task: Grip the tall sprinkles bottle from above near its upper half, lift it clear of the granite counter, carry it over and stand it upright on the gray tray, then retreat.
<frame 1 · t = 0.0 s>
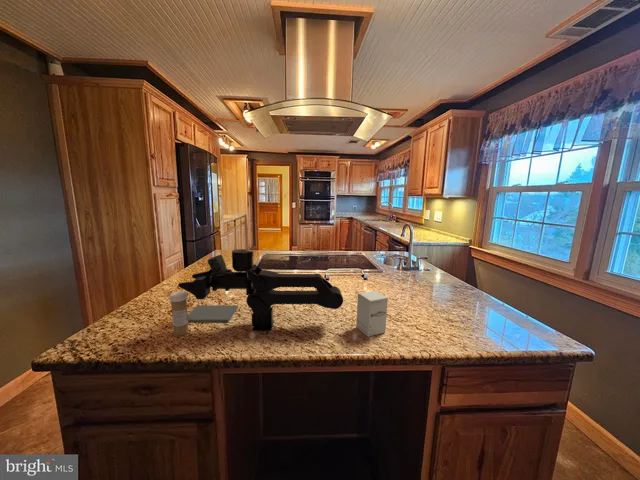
hand: (185, 280, 83), 17 cm above the counter, tool horizontal, fingers open, 9 cm apart
supplement box: (370, 330, 85), on the counter
gray tray: (212, 314, 94), on the counter
sprinkles bottle: (181, 333, 81), on the counter
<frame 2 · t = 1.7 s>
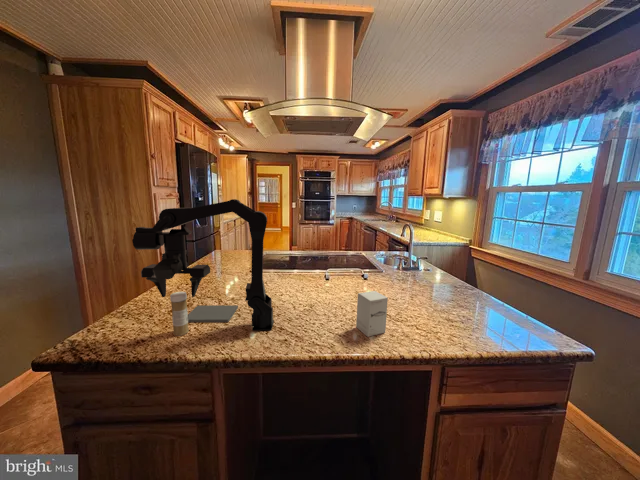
hand: (178, 296, 79), 12 cm above the counter, tool pointing down, fingers open, 9 cm apart
nothing on the counter moved.
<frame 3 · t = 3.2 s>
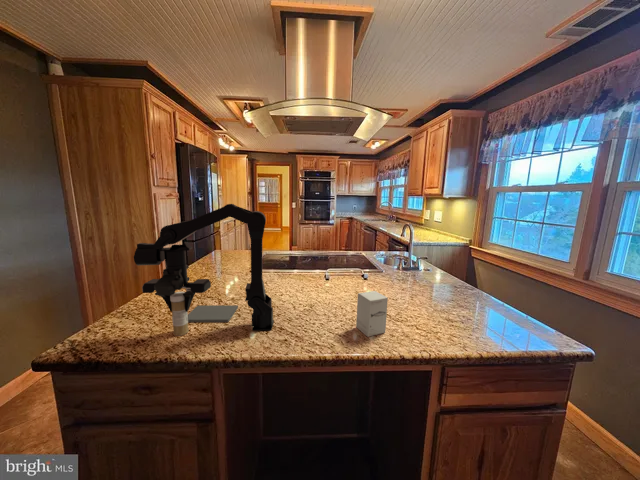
hand: (179, 311, 80), 8 cm above the counter, tool pointing down, fingers closed on sprinkles bottle, 4 cm apart
sprinkles bottle: (181, 333, 81), on the counter, touching gripper
everything else where it was.
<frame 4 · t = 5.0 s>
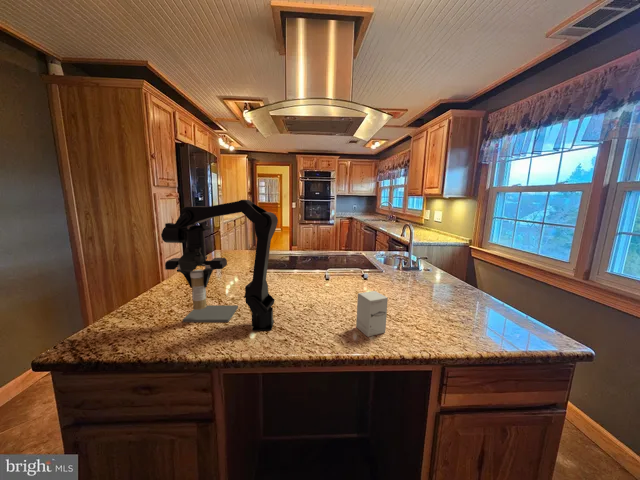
hand: (198, 287, 87), 13 cm above the counter, tool pointing down, fingers closed on sprinkles bottle, 4 cm apart
sprinkles bottle: (200, 308, 88), point 5 cm above the counter, touching gripper
everything else where it was.
when the fingers open (9 cm above the counter, at t = 6.8 s): sprinkles bottle stays where it is, resting on gray tray.
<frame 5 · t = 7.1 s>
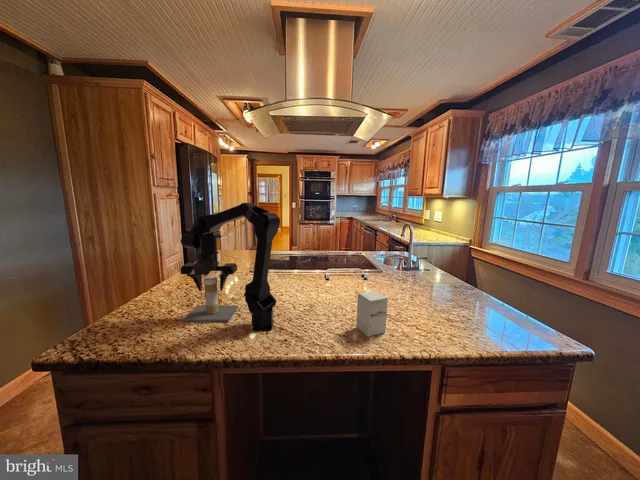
hand: (210, 290, 93), 9 cm above the counter, tool pointing down, fingers open, 7 cm apart
sprinkles bottle: (212, 312, 94), point 1 cm above the counter, touching gray tray
everything else where it was.
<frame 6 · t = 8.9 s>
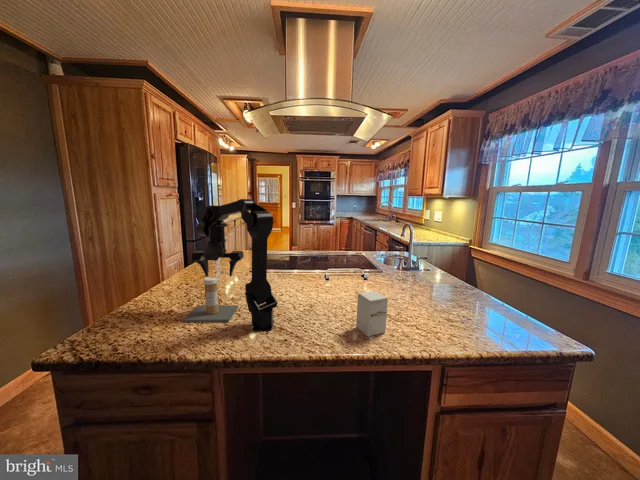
hand: (219, 276, 99), 13 cm above the counter, tool pointing down, fingers open, 9 cm apart
nothing on the counter moved.
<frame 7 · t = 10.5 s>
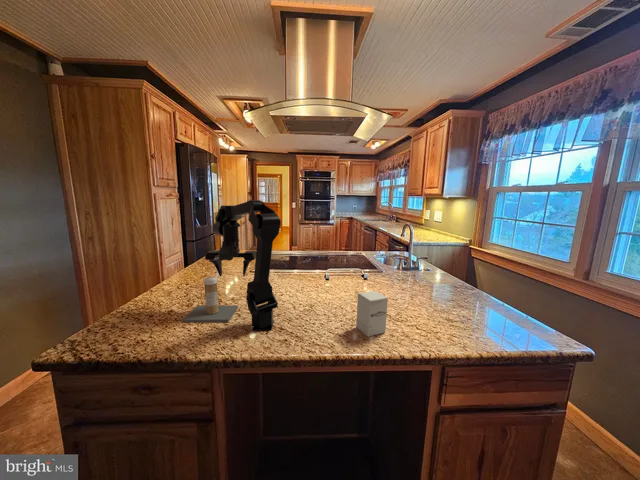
hand: (232, 276, 99), 13 cm above the counter, tool pointing down, fingers open, 9 cm apart
nothing on the counter moved.
at the end: sprinkles bottle inside the target area on the gray tray (0.1 cm from its centre), point 0.8 cm above the gray tray's base; sprinkles bottle tilted 0°; the gripper is holding nothing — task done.
